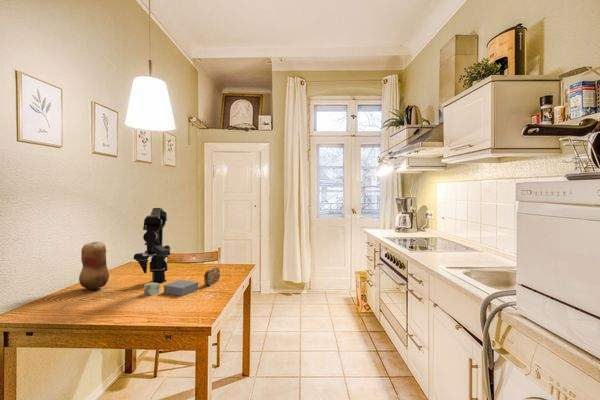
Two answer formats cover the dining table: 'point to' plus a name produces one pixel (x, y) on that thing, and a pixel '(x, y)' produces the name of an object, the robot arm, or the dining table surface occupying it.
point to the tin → (211, 276)
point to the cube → (151, 288)
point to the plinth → (180, 287)
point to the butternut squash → (94, 266)
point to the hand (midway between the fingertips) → (152, 271)
